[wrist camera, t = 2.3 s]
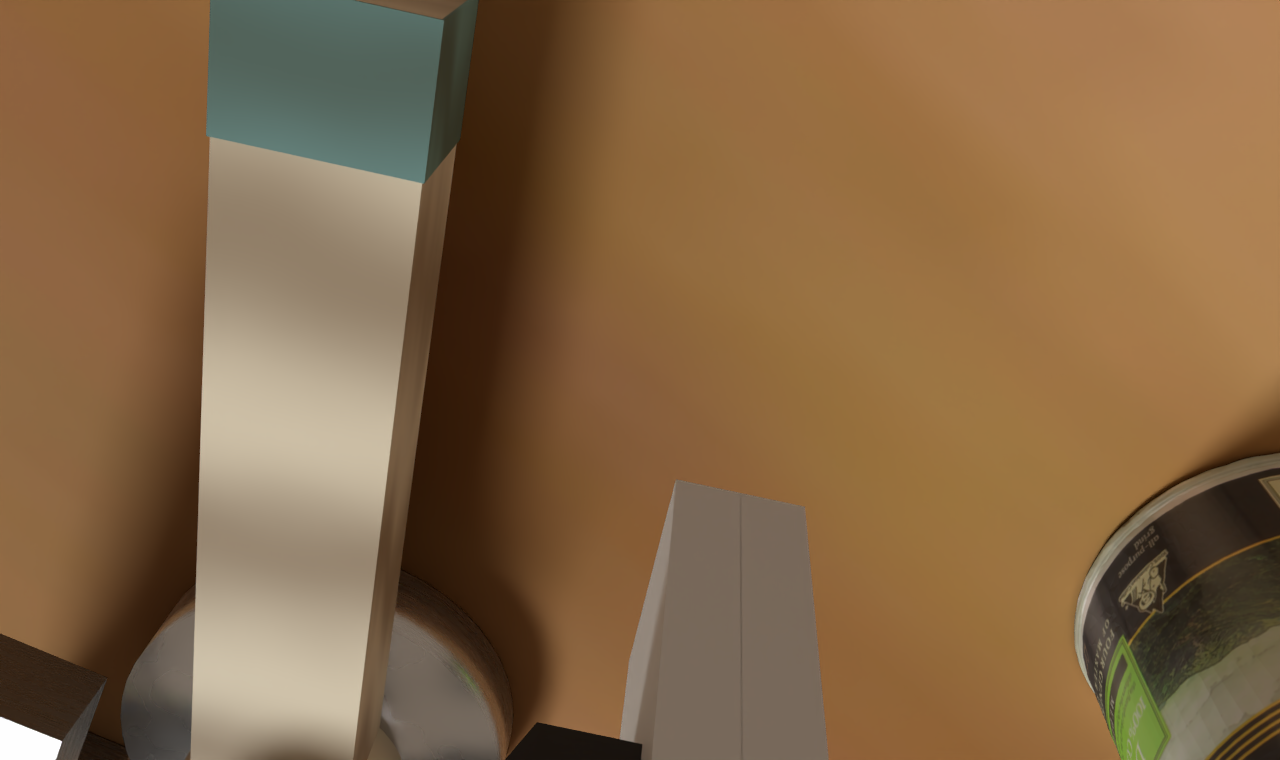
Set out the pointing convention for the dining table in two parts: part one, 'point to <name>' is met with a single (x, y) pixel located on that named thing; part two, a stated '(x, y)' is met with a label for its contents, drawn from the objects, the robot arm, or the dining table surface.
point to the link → (315, 357)
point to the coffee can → (1190, 620)
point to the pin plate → (413, 697)
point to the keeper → (49, 707)
